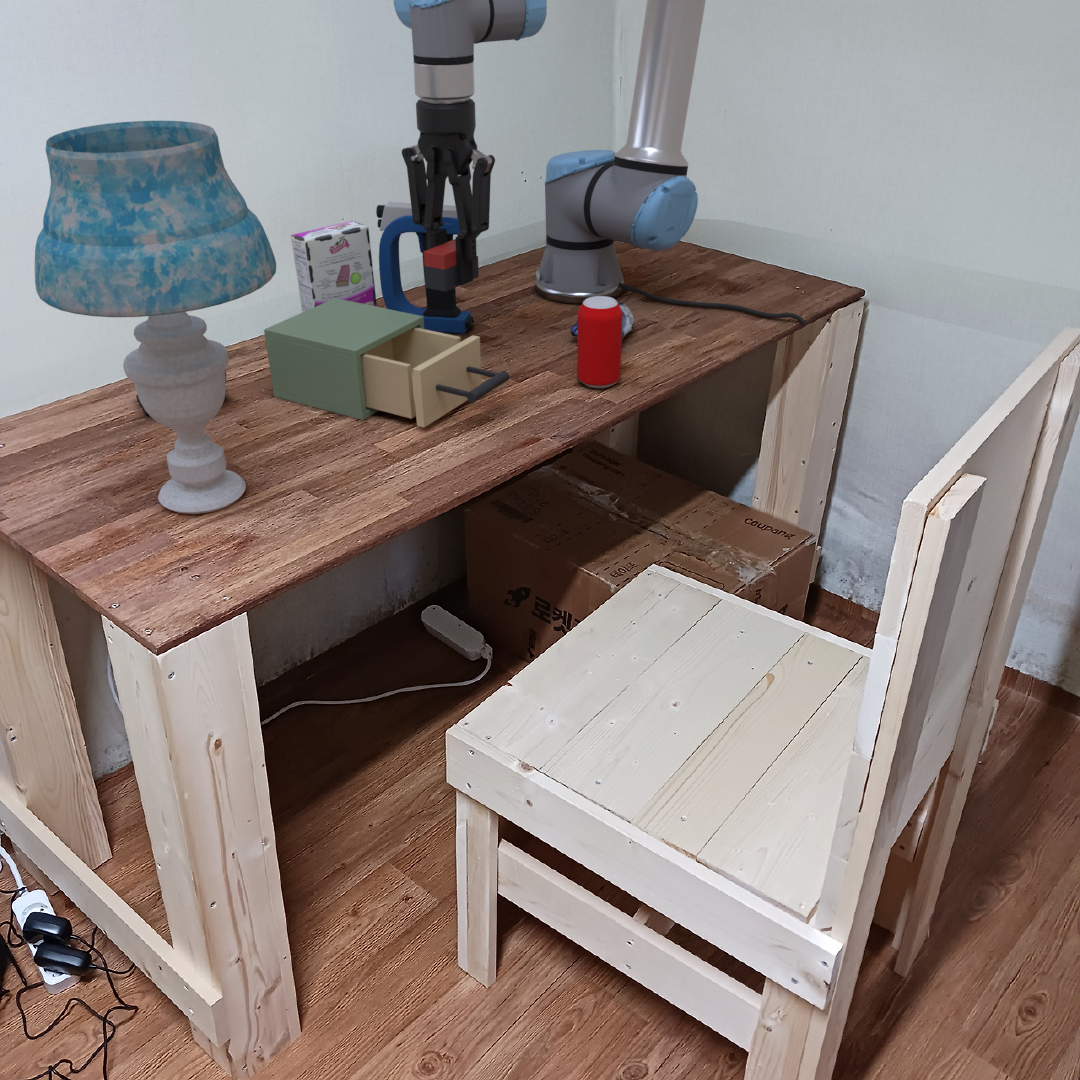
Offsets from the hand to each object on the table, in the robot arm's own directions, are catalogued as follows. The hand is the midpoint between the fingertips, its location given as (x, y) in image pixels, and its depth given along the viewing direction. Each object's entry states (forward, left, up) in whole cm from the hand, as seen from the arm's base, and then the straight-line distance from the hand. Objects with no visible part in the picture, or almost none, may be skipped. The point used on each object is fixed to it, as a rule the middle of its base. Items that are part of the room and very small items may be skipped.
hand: (452, 279), depth 147 cm
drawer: (+1, +12, -13) cm, 18 cm away
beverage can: (-20, -1, -14) cm, 25 cm away
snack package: (-19, -19, -14) cm, 31 cm away
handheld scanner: (+9, -19, -14) cm, 25 cm away
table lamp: (+20, +40, -14) cm, 47 cm away
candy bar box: (+23, -14, -14) cm, 30 cm away
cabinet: (+14, +7, -14) cm, 21 cm away
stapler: (0, 0, 0) cm, 0 cm away
